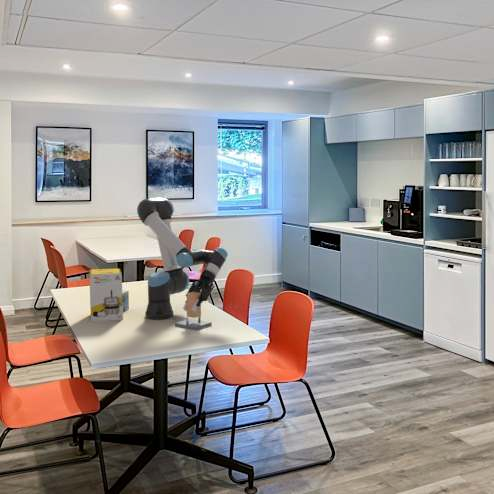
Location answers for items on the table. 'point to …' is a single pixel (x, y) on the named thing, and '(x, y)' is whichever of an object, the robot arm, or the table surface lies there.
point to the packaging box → (106, 294)
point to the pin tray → (193, 323)
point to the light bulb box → (125, 300)
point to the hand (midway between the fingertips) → (189, 310)
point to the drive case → (190, 303)
